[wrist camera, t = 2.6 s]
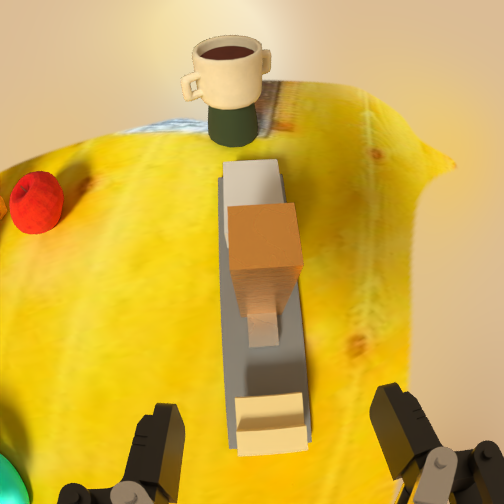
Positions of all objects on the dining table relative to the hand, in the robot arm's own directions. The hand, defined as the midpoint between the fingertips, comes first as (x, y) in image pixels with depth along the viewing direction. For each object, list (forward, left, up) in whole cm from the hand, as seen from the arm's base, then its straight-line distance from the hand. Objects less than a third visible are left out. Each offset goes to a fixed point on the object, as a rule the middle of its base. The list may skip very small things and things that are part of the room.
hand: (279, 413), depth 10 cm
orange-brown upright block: (-9, +8, -13) cm, 18 cm away
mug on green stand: (-24, +18, -15) cm, 33 cm away
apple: (-32, -7, -15) cm, 36 cm away
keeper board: (-6, +5, -14) cm, 17 cm away
